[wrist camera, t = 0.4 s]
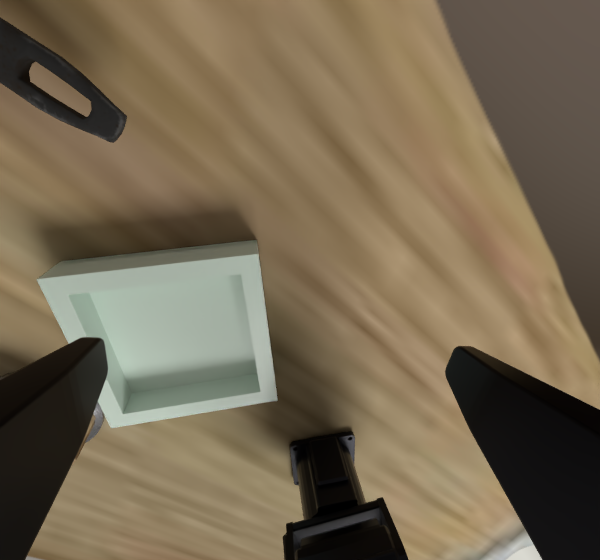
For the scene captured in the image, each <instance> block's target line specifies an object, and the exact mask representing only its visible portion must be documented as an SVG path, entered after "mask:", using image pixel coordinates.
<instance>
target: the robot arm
mask: <svg viewBox="0 0 600 560" xmlns="http://www.w3.org/2000/svg"><path fill="white" fill-rule="evenodd" d="M107 373H108V362H107V355H106V349H105V343H104V340H103V339H102V338H99V337H82V338H79V339H77V340H75V341H73V342H71V343H69V344H68V345H66V346H64V347H62V348H60V349H58V350H56V351H54V352H52V353H50V354H48V355H47V356H45V357H43V358H41V359H39V360H37V361H35V362H33V363H31V364H29V365H27V366H26V367H24V368H22V369H20V370H18V371H16V372H14V373H12V374H10V375H8V376H6V377H5V378H3V379H1V380H0V560H25V559H26V557H27V555H28V553H29V551H30V548H31V546H32V544H33V542H34V540H35V538H36V536H37V534H38V532H39V530H40V528H41V526H42V524H43V522H44V520H45V518H46V516H47V514H48V512H49V510H50V508H51V506H52V504H53V502H54V500H55V498H56V496H57V494H58V492H59V490H60V488H61V486H62V484H63V482H64V480H65V478H66V476H67V474H68V471H69V469H70V467H71V465H72V463H73V461H74V459H75V457H76V455H77V453H78V451H79V449H80V447H81V445H82V442H83V440H84V438H85V435H86V432H87V430H88V427H89V424H90V422H91V419H92V416H93V413H94V411H95V408H96V405H97V402H98V399H99V397H100V394H101V391H102V388H103V386H104V383H105V380H106V377H107ZM445 374H446V378H447V380H448V383H449V385H450V387H451V389H452V392H453V394H454V396H455V398H456V400H457V403H458V405H459V407H460V409H461V412H462V414H463V416H464V418H465V420H466V423H467V425H468V427H469V429H470V431H471V433H472V434H473V436H474V438H475V440H476V442H477V444H478V445H479V447H480V449H481V451H482V452H483V454H484V456H485V458H486V460H487V461H488V463H489V465H490V467H491V469H492V470H493V472H494V474H495V476H496V478H497V479H498V481H499V483H500V485H501V486H502V488H503V490H504V492H505V494H506V495H507V497H508V499H509V501H510V503H511V504H512V506H513V508H514V510H515V511H516V513H517V515H518V517H519V519H520V520H521V522H522V524H523V526H524V528H525V529H526V531H527V533H528V535H529V537H530V538H531V540H532V542H533V544H534V545H535V547H536V549H537V551H538V553H539V554H540V556H541V558H542V560H600V410H599V409H597V408H595V407H593V406H591V405H589V404H587V403H585V402H583V401H581V400H579V399H577V398H575V397H573V396H571V395H569V394H567V393H565V392H563V391H561V390H559V389H557V388H555V387H553V386H551V385H549V384H547V383H545V382H542V381H540V380H538V379H536V378H534V377H532V376H530V375H528V374H526V373H524V372H522V371H520V370H518V369H516V368H514V367H512V366H510V365H508V364H506V363H504V362H502V361H500V360H498V359H496V358H494V357H492V356H490V355H488V354H486V353H484V352H482V351H480V350H478V349H476V348H474V347H471V346H458V347H456V348H455V349H454V350H453V353H452V355H451V357H450V360H449V362H448V364H447V367H446V371H445ZM354 451H355V437H354V434H353V432H345V433H340V434H334V435H329V436H323V437H318V438H312V439H307V440H301V441H296V442H292V443H291V444H290V453H291V461H292V469H293V478H294V484H295V485H299V489H300V496H301V503H302V510H303V516H304V520H302V521H299V522H295V523H293V522H290V523H287V524H286V529H287V533H286V534H285V535H284V536H283V545H284V559H285V560H408V557H407V554H406V551H405V549H404V546H403V544H402V541H401V539H400V537H399V534H398V532H397V530H396V527H395V525H394V523H393V520H392V518H391V516H390V513H389V511H388V509H387V506H386V504H385V502H384V499H383V497H381V498H377V500H375V501H371V502H368V503H366V501H365V498H364V495H363V492H362V489H361V485H360V482H359V479H358V476H357V473H356V470H355V466H354Z"/></svg>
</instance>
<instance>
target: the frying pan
mask: <svg viewBox="0 0 600 560" xmlns="http://www.w3.org/2000/svg"><path fill="white" fill-rule="evenodd" d="M35 61H36V62H37V63H39V64H40V65H42V66H44V67H45V68H47V69H48V70H50V71H51V72H52V73H54V74H55V75H57V76H58V77H59V78H61V79H62V80H64V81H65V82H66V83H68V84H69V85H71V86H72V87H73V88H74V89H76V90H77V91H78V92H80V93H81V94H82V95H84V96H85V97H86V98H88V99H89V100H90V101H91V106H92V110H91V112H90V115H89V116H88V117H85V116H84V115H82V114H80V113H79V112H77V111H75V110H73V109H72V108H70V107H68V106H67V105H65V104H63V103H62V102H60V101H59V100H57V99H55V98H54V97H52V96H50V95H49V94H48V93H46V92H45V91H43V90H42V89H40V88H39V87H37V86H36V85H34V84H33V83H31V82H30V76H29V70H30V67H31V65H32V63H34V62H35ZM0 83H2V84H3V85H5V86H6V87H8V88H9V89H11V90H12V91H14V92H15V93H16V94H18V95H19V96H21V97H22V98H24V99H25V100H26V101H28V102H29V103H31V104H32V105H34V106H35V107H36V108H38V109H40V110H42V111H44V112H46V113H48V114H49V115H51V116H53V117H55V118H57V119H58V120H60V121H63V122H65V123H67V124H69V125H72V126H74V127H76V128H78V129H81V130H83V131H86V132H88V133H91V134H93V135H96V136H98V137H100V138H102V139H104V140H107V141H109V142H113V143H114V142H115V141H116V140H117V139H118V138H119V136H120V135H121V134H122V132H123V130H124V127H125V123H126V119H127V116H126V115H125V114H124V113H123V112H122V111H121V110H120V109H119V108H118V107H117V106H115V105H114V104H113V103H112V102H111V101H110V100H109V99H108V98H107V97H106V96H105V95H104V94H103V93H102V92H101V91H100V90H99V89H98V88H97V87H96V86H95V85H94V84H93V83H92V82H91V81H90V80H89V79H87V78H86V77H85V76H84V75H83V74H82V73H81V72H80V71H79V70H77V69H76V68H75V67H74V66H72V65H71V64H70V63H69V62H67V61H66V60H65V59H64V58H62V57H61V56H59V55H58V54H56V53H55V52H53V51H52V50H50V49H48V48H47V47H45V46H44V45H42V44H41V43H39V42H37V41H36V40H34V39H33V38H31V37H30V36H28V35H27V34H25V33H24V32H22V31H20V30H19V29H17V28H16V27H14V26H13V25H11V24H10V23H8V22H7V21H5V20H3V19H2V18H0Z"/></svg>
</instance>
